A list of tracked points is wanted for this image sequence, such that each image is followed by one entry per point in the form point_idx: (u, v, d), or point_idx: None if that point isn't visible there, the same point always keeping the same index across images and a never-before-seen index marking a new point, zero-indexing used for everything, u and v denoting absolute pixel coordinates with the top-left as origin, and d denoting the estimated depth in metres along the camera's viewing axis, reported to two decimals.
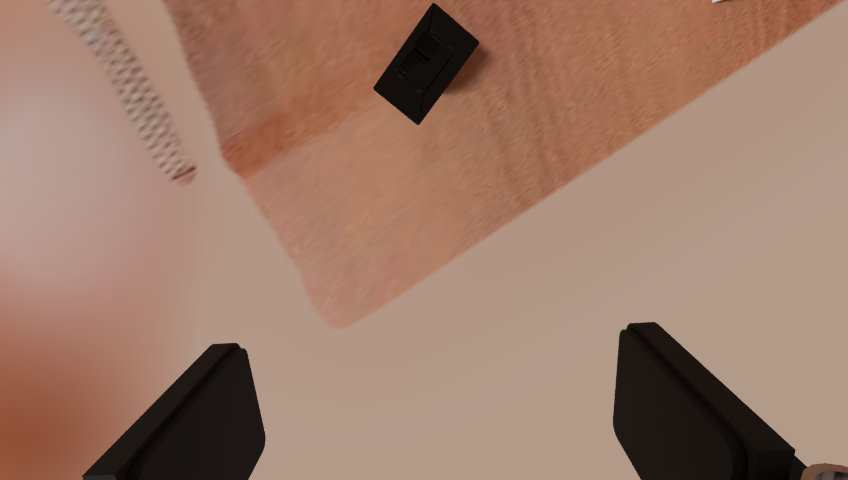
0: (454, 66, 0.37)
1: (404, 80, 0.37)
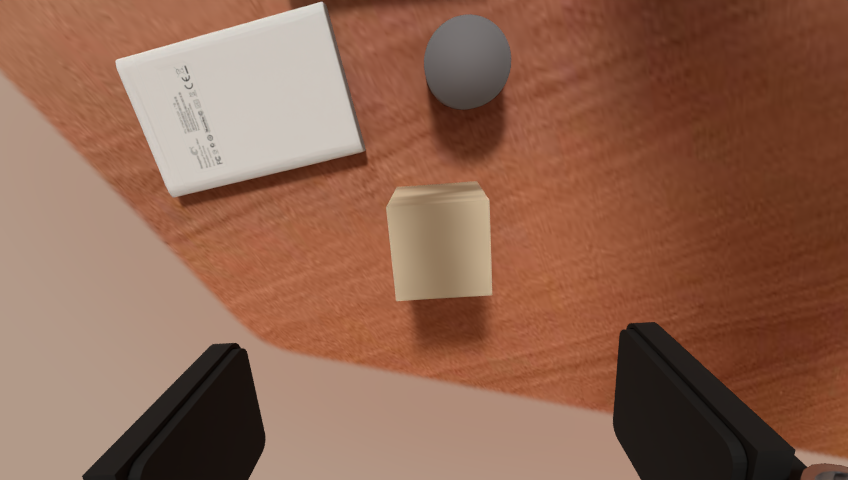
0: None
1: None
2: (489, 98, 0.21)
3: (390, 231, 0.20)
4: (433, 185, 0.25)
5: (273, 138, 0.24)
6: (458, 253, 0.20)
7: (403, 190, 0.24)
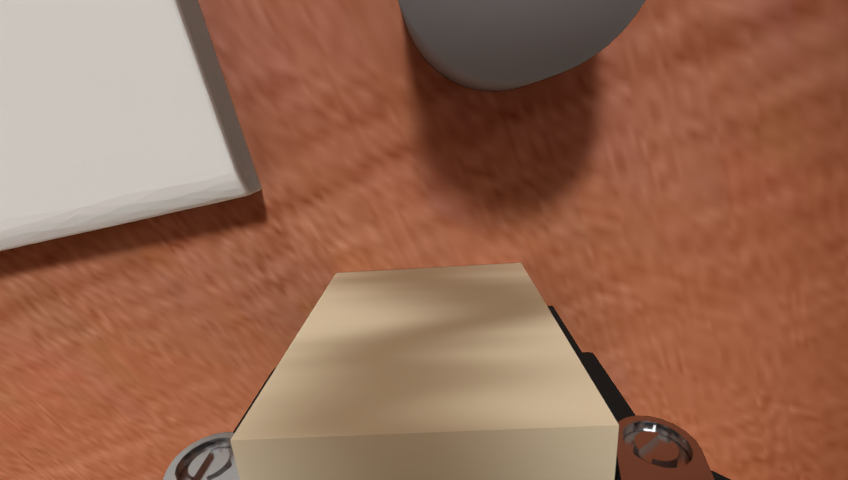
0: None
1: None
2: (591, 48, 0.07)
3: None
4: (419, 274, 0.10)
5: (16, 160, 0.09)
6: None
7: (343, 294, 0.10)
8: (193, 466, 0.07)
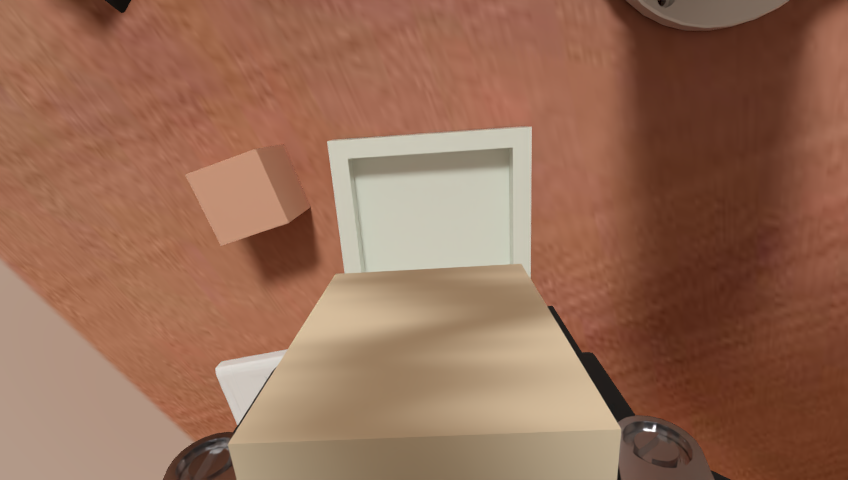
0: None
1: None
2: None
3: None
4: (419, 275, 0.10)
5: None
6: None
7: (342, 296, 0.10)
8: (193, 466, 0.07)
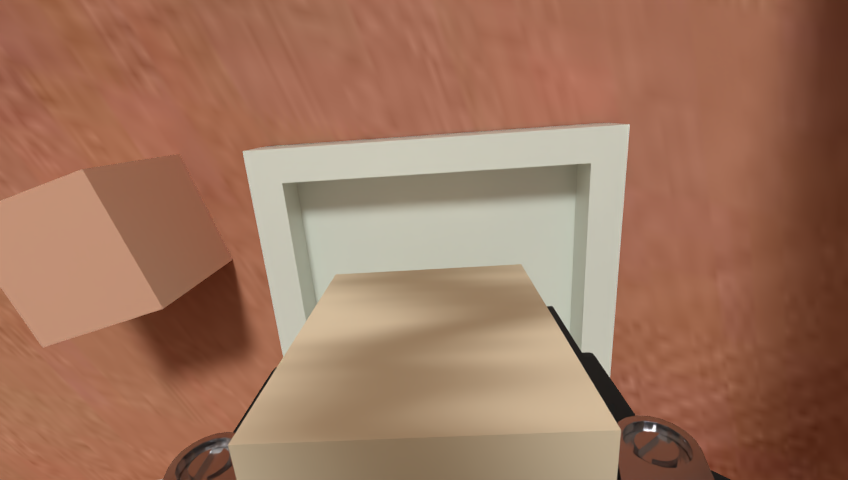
0: None
1: None
2: None
3: None
4: (419, 276, 0.10)
5: None
6: None
7: (342, 296, 0.10)
8: (193, 466, 0.07)
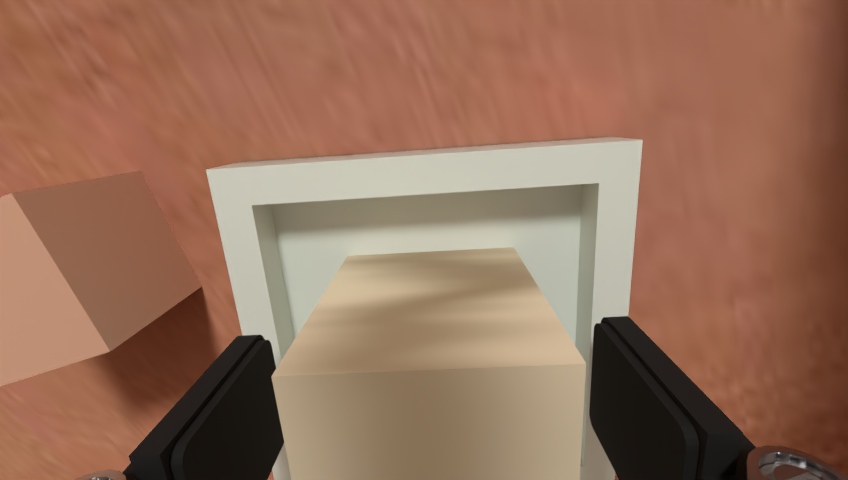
0: None
1: None
2: None
3: (288, 438, 0.07)
4: (422, 257, 0.12)
5: None
6: None
7: (355, 273, 0.11)
8: None
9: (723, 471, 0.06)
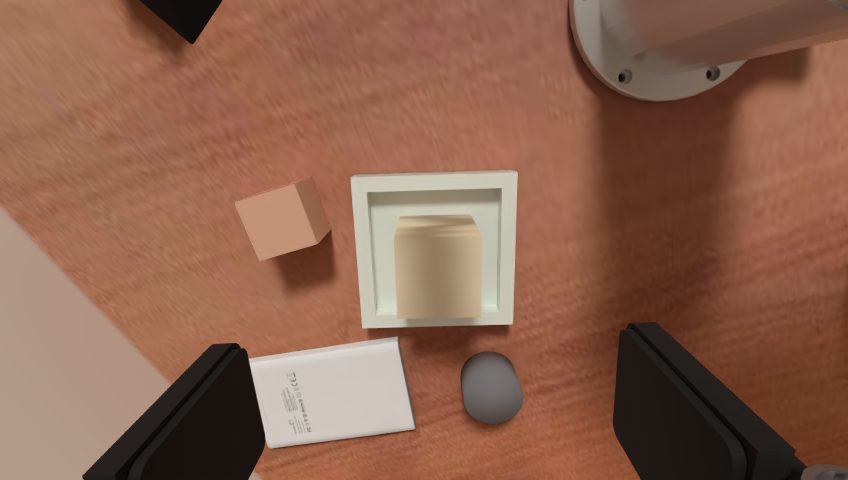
0: (154, 0, 0.25)
1: None
2: (507, 418, 0.30)
3: (396, 258, 0.23)
4: (432, 216, 0.28)
5: (351, 419, 0.33)
6: (453, 280, 0.24)
7: (406, 220, 0.27)
8: None
9: None
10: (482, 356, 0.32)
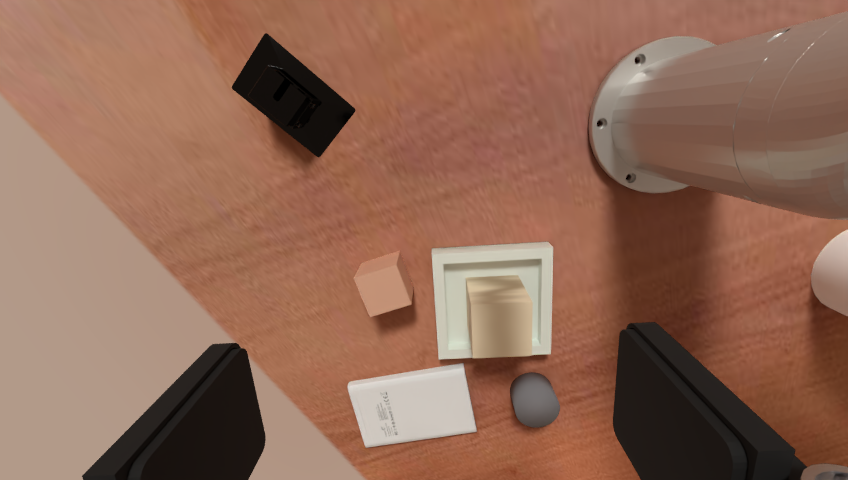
0: (293, 130, 0.36)
1: None
2: (548, 423, 0.41)
3: (472, 318, 0.34)
4: (490, 278, 0.38)
5: (428, 425, 0.44)
6: (512, 331, 0.34)
7: (472, 283, 0.37)
8: None
9: None
10: (527, 376, 0.42)
